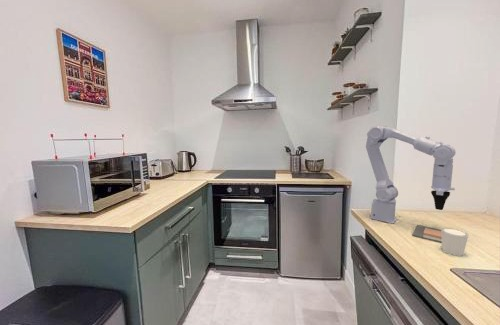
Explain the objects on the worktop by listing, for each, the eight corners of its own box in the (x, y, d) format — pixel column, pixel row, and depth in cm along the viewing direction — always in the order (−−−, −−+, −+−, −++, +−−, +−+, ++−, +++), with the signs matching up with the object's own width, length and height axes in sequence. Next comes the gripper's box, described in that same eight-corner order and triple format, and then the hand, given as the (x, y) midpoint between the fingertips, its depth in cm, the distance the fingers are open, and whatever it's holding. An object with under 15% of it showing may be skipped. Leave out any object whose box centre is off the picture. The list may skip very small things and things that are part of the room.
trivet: (412, 235, 89) (412, 234, 89) (416, 226, 99) (416, 224, 99) (456, 246, 80) (456, 245, 80) (457, 234, 90) (457, 233, 90)
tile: (424, 232, 91) (423, 237, 87) (425, 227, 91) (423, 232, 87) (447, 237, 86) (447, 242, 82) (448, 232, 86) (447, 238, 82)
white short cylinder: (469, 258, 73) (471, 238, 72) (441, 253, 76) (443, 233, 75) (463, 249, 78) (465, 230, 78) (437, 244, 82) (439, 226, 81)
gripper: (455, 179, 81) (451, 216, 83) (456, 174, 91) (452, 206, 93) (430, 177, 86) (427, 212, 87) (433, 172, 96) (431, 203, 98)
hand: (439, 209), depth 91 cm, fingers closed
